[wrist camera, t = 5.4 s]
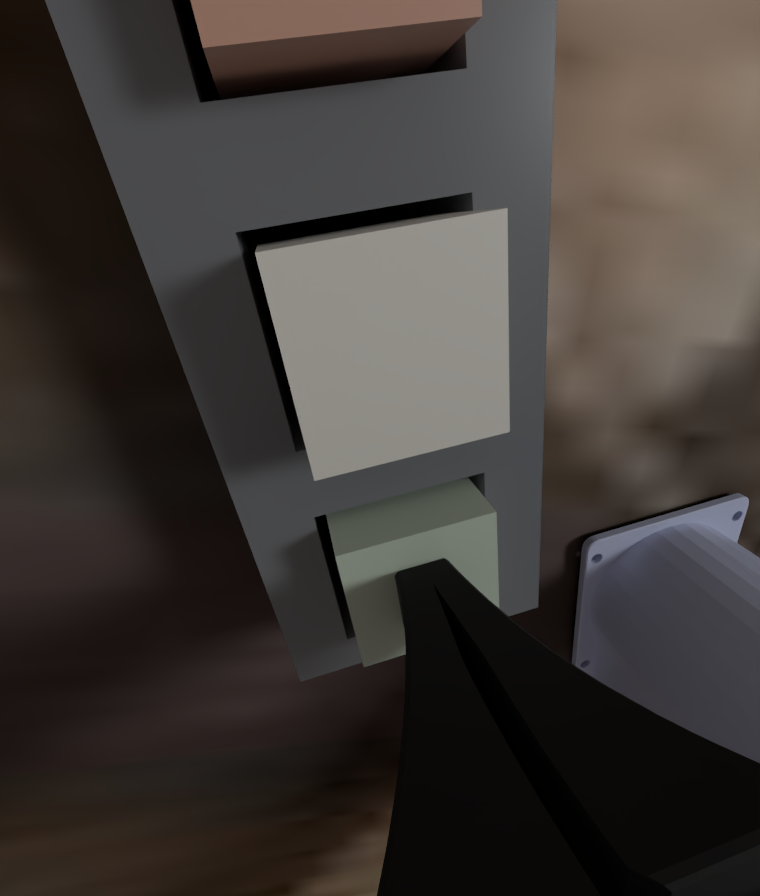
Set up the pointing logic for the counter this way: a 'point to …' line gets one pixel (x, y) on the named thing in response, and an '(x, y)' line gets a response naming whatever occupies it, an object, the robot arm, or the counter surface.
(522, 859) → the robot arm
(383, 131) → the keypad
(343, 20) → the brown cube
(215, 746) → the counter surface
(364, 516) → the sage key
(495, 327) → the cream cube
